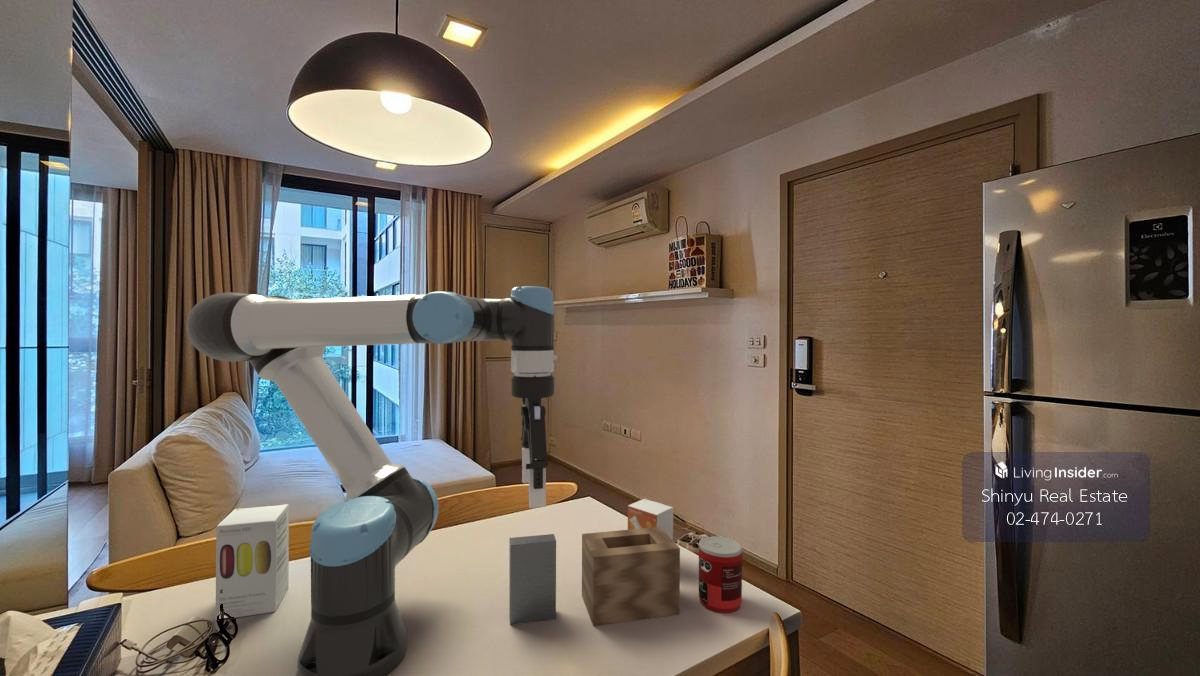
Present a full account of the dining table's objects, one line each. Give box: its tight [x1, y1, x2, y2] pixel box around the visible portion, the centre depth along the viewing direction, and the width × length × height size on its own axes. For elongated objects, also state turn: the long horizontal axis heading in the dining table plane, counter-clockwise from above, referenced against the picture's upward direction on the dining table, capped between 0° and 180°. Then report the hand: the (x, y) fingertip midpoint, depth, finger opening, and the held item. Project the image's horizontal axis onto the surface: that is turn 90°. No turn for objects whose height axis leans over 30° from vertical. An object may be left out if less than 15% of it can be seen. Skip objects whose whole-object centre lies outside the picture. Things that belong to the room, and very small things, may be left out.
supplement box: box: [214, 503, 290, 621], centre depth 92 cm, size 10×9×17 cm
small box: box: [627, 498, 674, 541], centre depth 108 cm, size 8×6×13 cm
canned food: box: [698, 535, 743, 614], centre depth 93 cm, size 8×8×11 cm
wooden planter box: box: [581, 527, 681, 627], centre depth 92 cm, size 16×10×12 cm, turn 103°
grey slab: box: [508, 533, 557, 626], centre depth 88 cm, size 8×3×14 cm, turn 104°
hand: (533, 493), depth 88 cm, fingers open, 13 cm apart
